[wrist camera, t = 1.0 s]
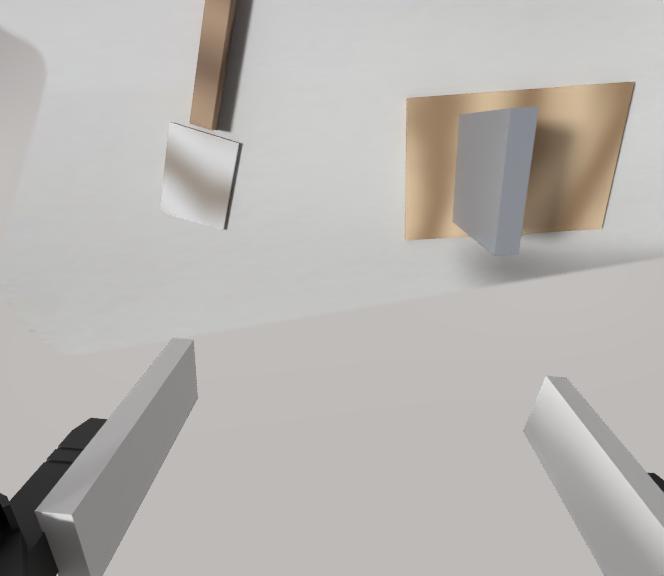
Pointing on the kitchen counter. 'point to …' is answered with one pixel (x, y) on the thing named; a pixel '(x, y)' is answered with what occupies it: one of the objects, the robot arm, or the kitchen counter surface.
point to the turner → (198, 147)
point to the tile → (494, 176)
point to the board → (546, 165)
